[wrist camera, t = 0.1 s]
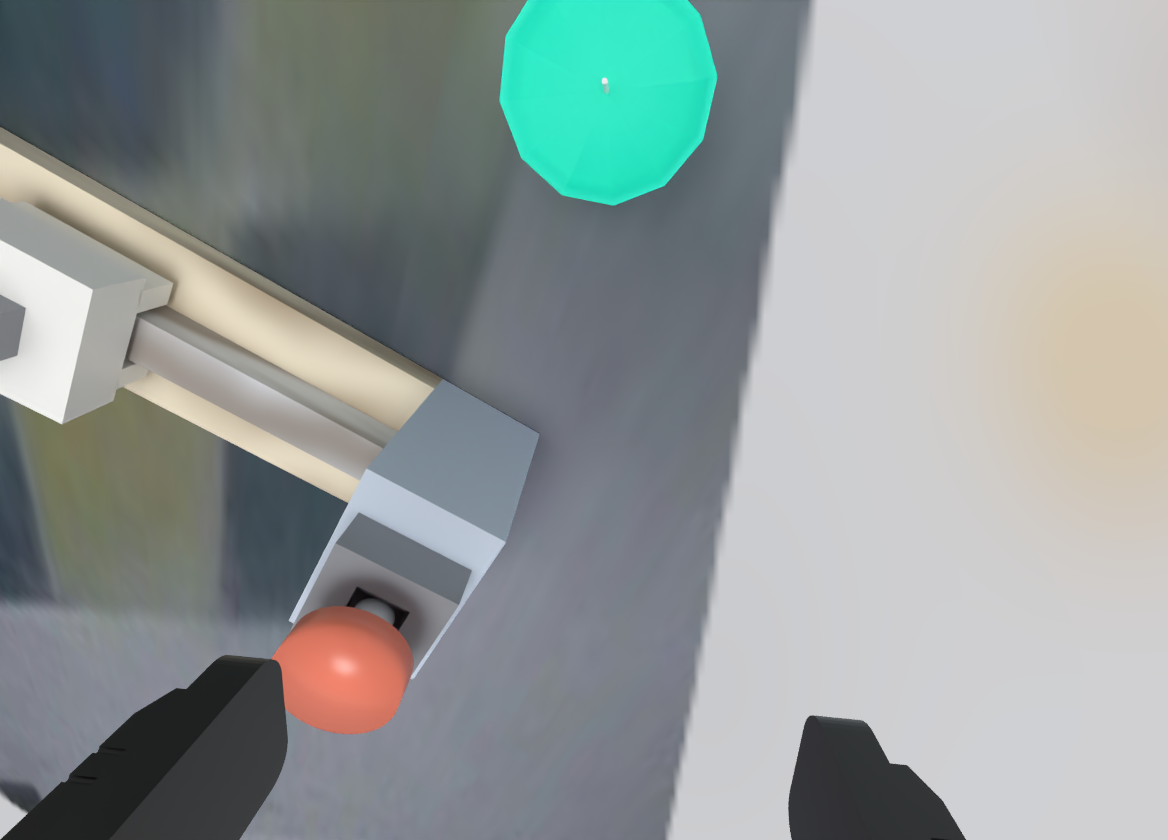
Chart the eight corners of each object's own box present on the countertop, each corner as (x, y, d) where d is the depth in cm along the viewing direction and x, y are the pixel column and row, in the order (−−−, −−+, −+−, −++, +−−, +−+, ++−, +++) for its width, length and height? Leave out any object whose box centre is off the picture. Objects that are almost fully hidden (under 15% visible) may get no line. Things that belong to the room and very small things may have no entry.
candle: (682, 185, 26) (726, 198, 15) (552, 197, 27) (503, 218, 16) (679, 30, 24) (728, -89, 13) (537, 47, 24) (466, -54, 13)
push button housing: (442, 378, 31) (342, 496, 20) (539, 434, 32) (495, 575, 21) (378, 499, 34) (262, 656, 23) (467, 545, 35) (396, 718, 24)
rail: (-15, 118, 27) (-101, 111, 24) (442, 378, 31) (422, 403, 27) (-36, 283, 30) (-114, 297, 27) (378, 499, 34) (353, 533, 31)
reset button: (342, 549, 21) (293, 615, 18) (450, 603, 22) (420, 676, 18) (302, 625, 22) (250, 699, 19) (403, 673, 23) (369, 751, 20)
